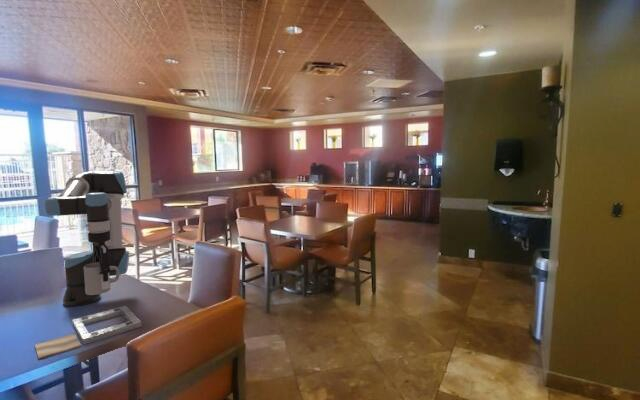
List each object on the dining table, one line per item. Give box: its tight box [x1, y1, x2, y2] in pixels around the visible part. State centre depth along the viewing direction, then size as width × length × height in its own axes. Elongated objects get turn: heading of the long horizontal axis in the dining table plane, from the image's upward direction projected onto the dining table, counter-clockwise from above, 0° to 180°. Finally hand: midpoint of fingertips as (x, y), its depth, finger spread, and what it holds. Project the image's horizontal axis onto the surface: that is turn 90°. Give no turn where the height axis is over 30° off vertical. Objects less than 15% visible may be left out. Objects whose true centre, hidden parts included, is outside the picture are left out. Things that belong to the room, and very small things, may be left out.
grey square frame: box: [71, 305, 143, 345], centre depth 140 cm, size 22×20×2 cm
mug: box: [84, 262, 120, 295], centre depth 137 cm, size 12×8×11 cm
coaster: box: [34, 332, 82, 360], centre depth 124 cm, size 12×12×1 cm
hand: (102, 285), depth 138 cm, fingers closed on mug, 8 cm apart
